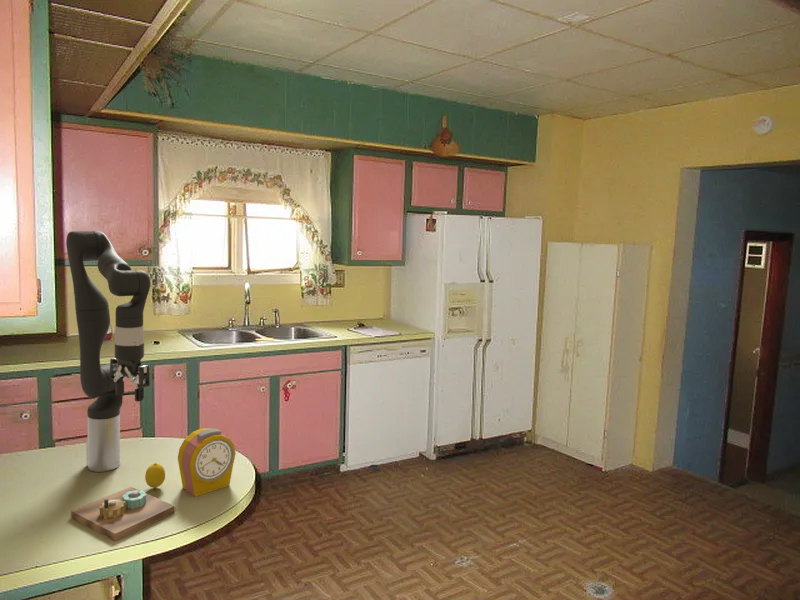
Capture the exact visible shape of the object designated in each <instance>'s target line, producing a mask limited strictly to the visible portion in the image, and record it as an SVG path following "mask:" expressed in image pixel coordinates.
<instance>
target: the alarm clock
mask: <svg viewBox="0 0 800 600" xmlns="http://www.w3.org/2000/svg"><path fill="white" fill-rule="evenodd" d="M235 459H236V448H235V444H234V442H233V441H232V440H231V438H229V437H227V436H225V435H224V434H223V433H222V430H220V429H218V428H210V427H208V428H207V427H202V428H199V429H196V430H194V431H192V432H191V433H190V434H189V435H187V436H186V438H185V437H184V440H183V441H182V443H181V445H180V447H179V449H178V454H177V462H178V467H179V474H180V480H181V485H182V488H183V489H184V490H186V491H187V492H188V493H190V495H192V496H193V497H198V496H200V495H203V494H204V495H205V494H207V492H208V493H210V492H213V490H214V491H216V489H217V490H220V489H223V488H226V487H229V486H230V483H231V478H232V473H233V468H234V467H233V466H234V463H235ZM228 485H229V486H228ZM225 486H226V487H225ZM222 487H223V488H222ZM219 488H220V489H219Z"/></svg>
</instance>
